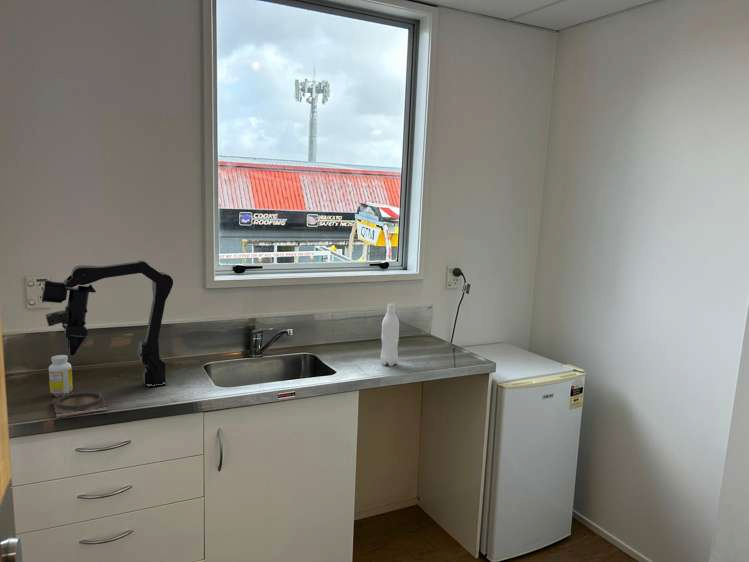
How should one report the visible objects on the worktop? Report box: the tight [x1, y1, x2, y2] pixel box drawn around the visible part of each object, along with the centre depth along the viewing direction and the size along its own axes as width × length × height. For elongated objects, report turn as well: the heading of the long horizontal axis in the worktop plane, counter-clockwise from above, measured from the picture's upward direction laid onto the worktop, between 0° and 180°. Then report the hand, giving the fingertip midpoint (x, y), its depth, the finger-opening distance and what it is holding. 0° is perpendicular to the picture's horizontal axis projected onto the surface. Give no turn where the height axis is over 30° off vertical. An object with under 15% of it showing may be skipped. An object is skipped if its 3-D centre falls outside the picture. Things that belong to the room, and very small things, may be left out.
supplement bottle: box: [48, 354, 74, 394], centre depth 191 cm, size 7×7×13 cm
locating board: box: [52, 391, 109, 414], centre depth 182 cm, size 14×14×3 cm
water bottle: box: [380, 302, 400, 367], centre depth 237 cm, size 7×7×25 cm
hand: (70, 351), depth 190 cm, fingers open, 9 cm apart
